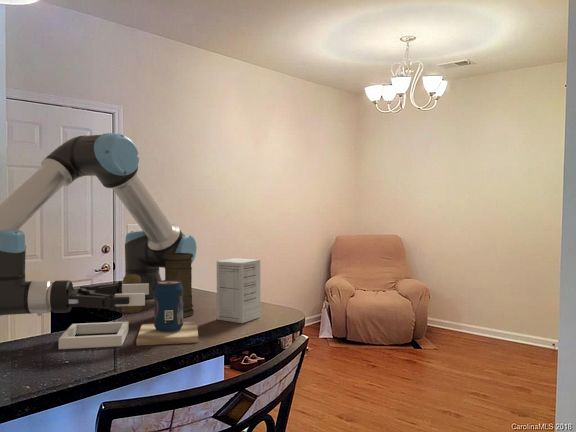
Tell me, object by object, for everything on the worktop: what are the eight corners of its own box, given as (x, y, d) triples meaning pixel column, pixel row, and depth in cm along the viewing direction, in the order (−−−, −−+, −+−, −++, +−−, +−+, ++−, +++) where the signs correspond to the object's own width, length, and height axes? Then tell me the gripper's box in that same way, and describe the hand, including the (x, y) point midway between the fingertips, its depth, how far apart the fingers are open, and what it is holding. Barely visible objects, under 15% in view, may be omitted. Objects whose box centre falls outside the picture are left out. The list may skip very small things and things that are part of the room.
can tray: (72, 333, 119) (72, 323, 119) (128, 330, 122) (128, 321, 122) (58, 349, 106) (58, 338, 106) (121, 346, 109) (121, 335, 109)
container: (186, 318, 135) (186, 255, 135) (157, 317, 137) (157, 254, 137) (198, 312, 144) (198, 252, 144) (171, 310, 146) (171, 252, 145)
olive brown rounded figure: (134, 313, 142) (134, 276, 141) (117, 311, 144) (117, 275, 143) (146, 309, 147) (146, 273, 147) (130, 307, 149) (130, 272, 149)
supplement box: (261, 317, 138) (262, 259, 137) (242, 324, 130) (243, 262, 129) (235, 313, 143) (235, 257, 142) (215, 319, 135) (215, 260, 134)
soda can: (154, 327, 120) (154, 279, 120) (182, 325, 122) (182, 279, 121) (153, 334, 113) (153, 284, 113) (183, 332, 115) (183, 283, 115)
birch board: (141, 329, 123) (141, 324, 123) (196, 327, 126) (196, 321, 126) (136, 345, 109) (136, 339, 109) (198, 342, 112) (198, 336, 112)
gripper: (65, 302, 124) (150, 299, 128) (37, 325, 99) (142, 321, 104) (65, 273, 123) (150, 271, 128) (37, 290, 99) (142, 287, 104)
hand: (147, 293), depth 116 cm, fingers open, 13 cm apart
